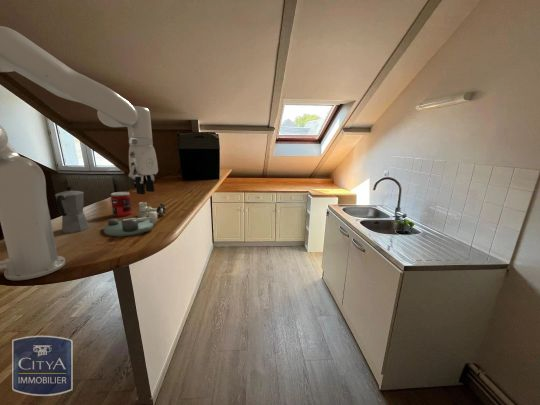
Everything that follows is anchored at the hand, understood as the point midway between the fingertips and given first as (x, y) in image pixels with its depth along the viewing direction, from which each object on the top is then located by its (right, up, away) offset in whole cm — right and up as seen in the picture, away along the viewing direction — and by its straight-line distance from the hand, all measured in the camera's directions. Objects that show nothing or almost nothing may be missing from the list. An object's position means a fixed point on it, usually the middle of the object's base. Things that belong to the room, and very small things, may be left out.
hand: (145, 192), depth 92 cm
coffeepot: (-33, -15, +8) cm, 37 cm away
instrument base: (-12, -15, +11) cm, 22 cm away
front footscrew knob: (-6, -14, +7) cm, 17 cm away
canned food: (-27, -10, +30) cm, 41 cm away
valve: (-12, -11, +29) cm, 33 cm away
